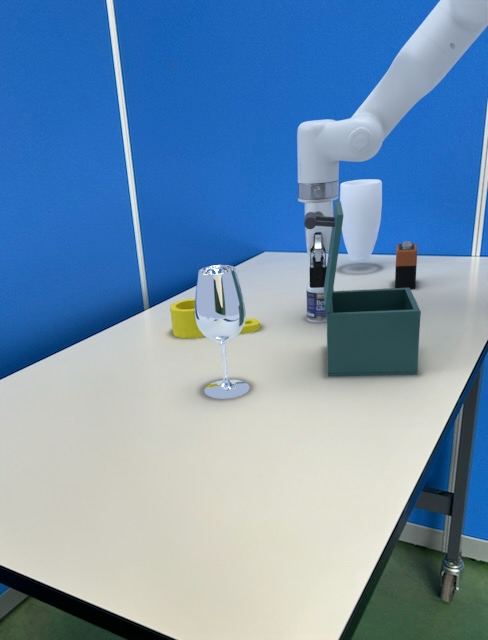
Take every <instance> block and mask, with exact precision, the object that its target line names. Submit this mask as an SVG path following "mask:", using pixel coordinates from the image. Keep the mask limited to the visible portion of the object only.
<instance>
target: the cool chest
mask: <svg viewBox="0 0 488 640" xmlns="http://www.w3.org/2000/svg"><path fill="white" fill-rule="evenodd" d="M421 313H422V312H421V309H420V306H419V305H418V302H417V300H416V298H415V296H414V294H413V292H412V289H410V288H395V287H394V288H377V289H376V288H374V289H373V288H372V289H371V288H370V289H352V290H349V289H348V290H334V291H333V294H332V301H331V309H330V312H327V322H326V362H327V363H326V364H327V367H326V368H327V377H329V378H331V377H335V378H336V377H376V376H380V377H381V376H382V377H383V376H417V375H418V365H419V363H418V362H419V349H420V329H421Z"/></svg>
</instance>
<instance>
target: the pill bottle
mask: <svg viewBox="0 0 488 640" xmlns="http://www.w3.org/2000/svg"><path fill="white" fill-rule="evenodd" d="M333 291H335V287H333ZM305 292H306V320H307V321H309V322H312V323H327V312H325V310H324V287H323V288H310V282H309V283H308V284H307V286H306V291H305Z"/></svg>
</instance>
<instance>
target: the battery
mask: <svg viewBox="0 0 488 640" xmlns="http://www.w3.org/2000/svg"><path fill="white" fill-rule="evenodd" d="M395 250H396V252H395V273H394V274H395V275H394V288H410V289H411V290H416V286H417V285H416V283H417V281H416V280H417V264H418V245H417V243H411V241H410V240H404V241H403V242H402V243H398V244H397V245H396V247H395Z"/></svg>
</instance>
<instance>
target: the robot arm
mask: <svg viewBox="0 0 488 640" xmlns="http://www.w3.org/2000/svg"><path fill="white" fill-rule="evenodd" d="M487 27H488V0H439V1H438V2H437V4H436V5H435V6H434V8H433V9H432V10H431V11H430V12H429V14H428V15H427V16H426V17H425V19H424V20H423V21H422V23H421V24H420V25H419V26H418V28H417V29H416V30H415V31H414V32H413V34H412V35H411V36H410V37H409V39H408V40H407V41H406V42H405V44H404V45H403V46H402V47H401V48H400V50H399V52H398V53H397V55H396V56H395V58H394V59H393V60H392V63H391V64H390V66H389V68H388V69H387V71H386V73H384V75H383V76H382V78H381V79H380V81H379V82H378V83H377V84H376V85H375V87H374V88H373V90H372V91H371V92H370V94H369V95H368V96H367V97H366V99H364V101H363V102H362V104H360V106H359V107H358V108H357V110H356V111H355V112H354V113H353V115H352V116H351V117H350V118H345V119H341V120H335V119H331V118H329V119H327V118H326V119H314V120H307V121H304V122H301V123H300V124H299V125H298V127H297V130H296V144H297V145H296V148H297V150H296V152H297V153H296V154H297V155H296V157H297V159H296V160H297V201H298V202H300V203H304V216H305V215H306V214H307V213H308V212H314V213H315V214H316V216H325V217H333V216H334V202H333V201H337V200H338V199H339V191H340V189H339V188H340V185H339V181H340V180H339V179H340V161H341V162H350V163H351V162H353V163H354V162H355V163H360V162H365V161H369V160H370V159H372V158H373V157H375V156H376V155H377V154H378V152H379V151H380V150H381V148H382V146H383V142H384V141H385V139H386V138H387V137H388V136H389V135H390V133H391V132H392V131H393V130H394V128H396V126H397V125H398V124H399V123H400V121H401V120H402V119H403V118H404V117H405V116H406V115H407V114H408V112H409V111H411V109H412V108H413V107H414V106H415V105H416V104H417V103H419V101H421V100H422V99H423V98H424V97H425V96H426V95H428V94H429V93H430V92H432V90H434V89H435V88H436V87H437V86H438V85H439V83H440V82H441V81H442V80H443V79H444V78H445V77H446V76H447V74H448V73H449V72H450V71H451V70H452V68H453V67H454V66H455V65H456V64H457V62H459V60H460V59H461V58H462V57H463V55H464V54H465V53H466V51H467V50H468V49H470V47H471V46H472V44H474V42H475V41H476V40H477V39H478V38H479V37H480V35H481V34H482V33H483V32H484V31H485V30H486V28H487ZM331 231H332V227H325V226H315V227H314V228H313V229H307V228H306V227H305V226H304V233H305V244H306V252H307V255H309V262H310V263H309V283H310V288H323V287H324V284H325V276H326V269H327V253H328V254H329V246H330V238H331Z"/></svg>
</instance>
